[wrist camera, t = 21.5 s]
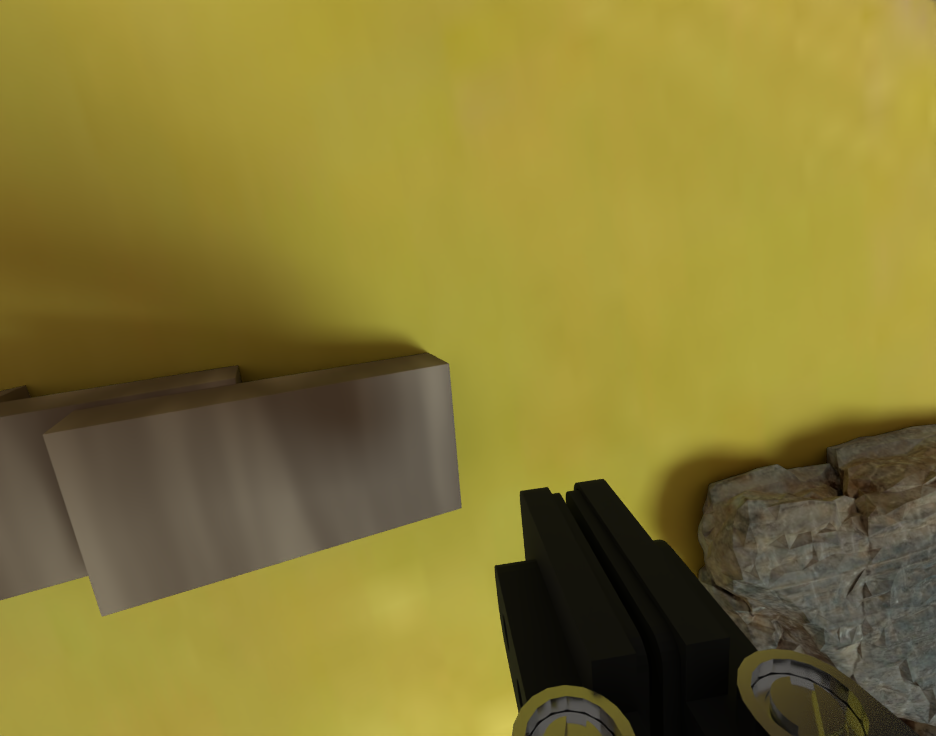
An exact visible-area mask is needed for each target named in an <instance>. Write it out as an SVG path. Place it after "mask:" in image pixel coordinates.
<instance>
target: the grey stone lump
mask: <svg viewBox="0 0 936 736" xmlns="http://www.w3.org/2000/svg"><path fill="white" fill-rule="evenodd" d="M702 510H703V514H704V515H703V517H702V519H701V522H700V524H699V527H698V540H699V543H700V545H701V547H702V549H703V551H704V561H705V566H703V567H702V568H701V569H700V570H699V578H698V580H699V581H700V582H701V583H702V585H703V586H704V587H705V588H706V589H707V591H708V592H709V593H710V594H711V595H712V596H713V598H714V599H715V600H716V601H717V602H718V604H719V605H720V606H721V607H722V608H723V610H724V611H725V612H726V613H727V614H728V615H729V617H730V618H731V619H732V620H733V621H734V623H735V624H736V625H737V626H738V627H739V629H740V630H741V631H742V632H743V633H744V635H745V636H746V637H747V638H748V639H749V640H750V642H751V643H752V644H753V645H754V646H755V648H756V649H757V650H758V651H762V650H768V649H781V650H792V651H795V652H799V653H802V654H805V655H809V656H812V657H815V658H817V659H819V660H821V661H823V662H825V663H827V664H829V665H831V666H833V667H835V668H836V669H838V670H839V671H841V672H842V673H843V674H845V675H846V676H848V677H849V678H851V679H852V680H853V681H855V682H856V683H857V684H858V685H860V686H861V687H862V688H863V689H864V690H866V691H867V692H868V693H869V694H870V695H872V696H873V697H874V698H875V699H876V700H878V701H879V702H880V703H881V704H882V705H884V706H885V707H886V708H887V709H888V710H890V711H891V712H892V713H893V714H894V715H896V716H897V717H898V718H899V719H900V720H902V721H903V722H904V723H905V724H906V725H908V726H909V727H910V728H911V729H912V730H914V731H915V732H916V733H917V734H918V735H920V736H936V424H933V425H924V426H914V427H909V428H904V429H901V430H897V431H892V432H888V433H884V434H881V435H877V436H869V437H859V438H856V439H854V440H851V441H849V442H846V443H843V444H839V445H836V446H832V447H828V448H827V464H820V465H813V466H805V467H798V468H793V469H788V470H787V469H785V468H783V467H781V466H779V465H778V464H776V465H771V466H766V467H760V468H757V469H754V470H751V471H749V472H746V473H743V474H740V475H737V476H733V477H730V478H727V479H724V480H721V481H718V482H714V483H711V484H709V487H708V494H707V498H706V501H705V504H704V506H703V509H702Z"/></svg>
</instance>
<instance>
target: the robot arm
mask: <svg viewBox="0 0 936 736" xmlns="http://www.w3.org/2000/svg"><path fill="white" fill-rule="evenodd" d="M520 505H521V516H522V527H523V538H524V548H525V559H526V561H521V562H514V563H508V564H502V565H495V579H496V588H497V597H498V605H499V612H500V619H501V625H502V632H503V637H504V643H505V648H506V653H507V658H508V663H509V668H510V673H511V678H512V683H513V687H514V692H515V697H516V702H517V707H518V712H519V714H518V716H517V718H516V720H515V722H514V724H513V732H512V736H920V735H918V734H917V733H916V732H915V731H914V730H912V729H911V728H910V727H909V726H908V725H906V724H905V723H904V722H903V721H902V720H900V719H899V718H898V717H897V716H896V715H894V714H893V713H892V712H891V711H890V710H888V709H887V708H886V707H885V706H884V705H882V704H881V703H880V702H879V701H878V700H876V699H875V698H874V697H873V696H872V695H870V694H869V693H868V692H867V691H866V690H864V689H863V688H862V687H861V686H860V685H858V684H857V683H856V682H855V681H853V680H852V679H851V678H849V677H848V676H846V675H845V674H843V673H842V672H841V671H839V670H838V669H836V668H835V667H833V666H831V665H829V664H827V663H825V662H823V661H821V660H819V659H817V658H815V657H812V656H809V655H805V654H802V653H799V652H795V651H792V650H781V649H768V650H762V651H758V650H757V649H756V648H755V646H754V645H753V644H752V643H751V642H750V640H749V639H748V638H747V637H746V636H745V635H744V633H743V632H742V631H741V630H740V629H739V627H738V626H737V625H736V624H735V623H734V621H733V620H732V619H731V618H730V617H729V615H728V614H727V613H726V612H725V611H724V610H723V608H722V607H721V606H720V605H719V604H718V602H717V601H716V600H715V599H714V598H713V596H712V595H711V594H710V593H709V592H708V591H707V589H706V588H705V587H704V586H703V585H702V583H701V582H700V581H699V580H698V579H697V577H696V576H695V575H694V574H693V573H692V571H691V570H690V569H689V568H688V567H687V566H686V564H685V563H684V562H683V561H682V560H681V558H680V557H679V556H678V555H677V554H676V552H675V551H674V550H673V549H672V548H671V546H670V545H668V544H667V543H666V542H665V541H663V540H654V541H653V540H652V539H651V537H650V536H649V535H648V534H647V532H646V531H645V530H644V529H643V527H642V526H641V525H640V524H639V522H638V521H637V520H636V519H635V517H634V516H633V515H632V514H631V512H630V511H629V510H628V509H627V507H626V506H625V505H624V504H623V502H622V501H621V500H620V498H619V497H618V496H617V495H616V493H615V492H614V491H613V490H612V488H611V487H610V486H609V485H608V483H607V482H606V481H605V480H604V479H599V480H592V481H585V482H578V483H575V485H574V491H568V492H566V503H565V501H564V499H563V498H562V496H561V494H560V493H555V494H551V492H550V490H549V488H548V487H545V488H538V489H531V490H524V491H520Z"/></svg>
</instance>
